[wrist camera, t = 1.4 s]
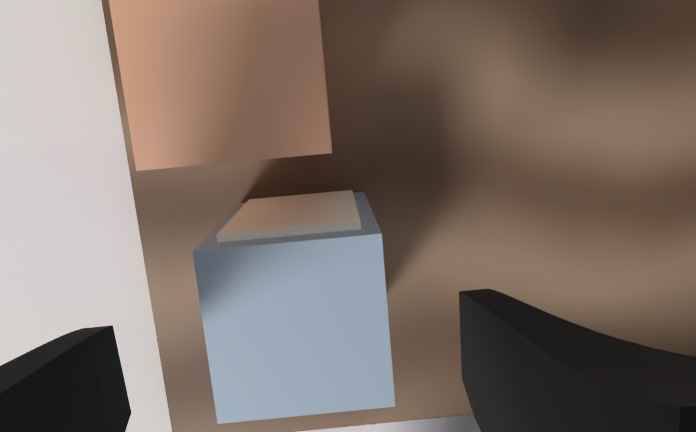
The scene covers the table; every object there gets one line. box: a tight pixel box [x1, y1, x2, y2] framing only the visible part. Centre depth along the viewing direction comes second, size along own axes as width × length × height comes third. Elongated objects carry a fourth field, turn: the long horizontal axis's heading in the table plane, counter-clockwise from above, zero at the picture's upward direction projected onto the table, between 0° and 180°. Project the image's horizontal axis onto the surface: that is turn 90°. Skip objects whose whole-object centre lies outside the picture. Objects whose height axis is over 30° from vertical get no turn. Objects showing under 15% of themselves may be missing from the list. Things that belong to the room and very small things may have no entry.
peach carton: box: [109, 0, 332, 171], centre depth 16 cm, size 5×4×7 cm
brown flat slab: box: [102, 0, 696, 432], centre depth 19 cm, size 18×23×3 cm
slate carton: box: [192, 190, 395, 424], centre depth 17 cm, size 5×4×7 cm
